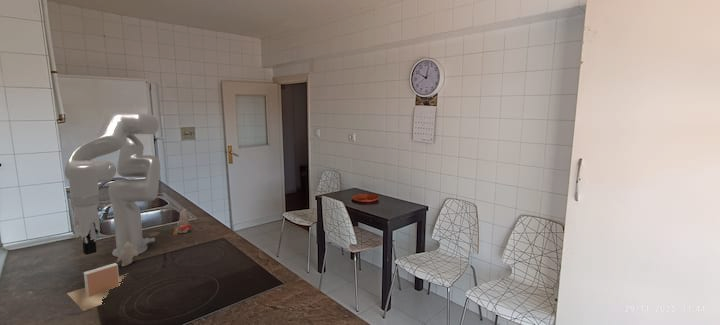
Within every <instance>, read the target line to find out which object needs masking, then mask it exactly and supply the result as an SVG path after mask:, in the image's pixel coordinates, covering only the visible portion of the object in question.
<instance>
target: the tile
mask: <svg viewBox="0 0 720 325" xmlns="http://www.w3.org/2000/svg"><path fill="white" fill-rule="evenodd" d="M119 276H120V274H119V265H118V264H117V262H114V263H110V264H107V265H103V266H100V267H97V268H94V269H90V270H87V271H83V278H84V279H83V280H84V288H85V289H86V295H87V296H88V297H90V296H93V295H96V294H99V293H101V292H104V291H107V290H110V289H113V288H115V287H118V286H120V284H119Z"/></svg>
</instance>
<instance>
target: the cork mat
mask: <svg viewBox="0 0 720 325" xmlns="http://www.w3.org/2000/svg"><path fill="white" fill-rule="evenodd" d="M127 274H128V273H125V274H121V275H119V282H121V281H122V279H124V277H126V276H124V275H127ZM122 283H123V282H122ZM119 284H121V283H119ZM108 292H109V290H107V291H104V292H101V293H99V294H96V295H93V296H90V297H88V296H87V295H86V289H85V287H83V288H79V289H76V290H73V291H70V292H67V293H66V295H68V296H69V297H70V298H71V299H72V301H73V302H75V304H76V305H77V307H79V308H80V309H81V310H82V311H83V312H84V311H87V310H90V309H93V308H96V307H99V306H101V305H103V304H102V302H103V301H102V299H104V298H106V297H107V295H108V294H109V293H108ZM103 297H104V298H103Z"/></svg>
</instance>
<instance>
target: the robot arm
mask: <svg viewBox="0 0 720 325" xmlns="http://www.w3.org/2000/svg"><path fill="white" fill-rule="evenodd" d="M159 127H160V123H159V120H158V118H157V117H156V116H155V115H153V114H150V113H149V114H148V113H142V112H112V113H110V114H108V116H107V117H106V118H105V120H104V122H103V124H102V126H101V128H100V130H99V132H98V134H97V136H96V137H95V138H92V139H91V140H88V141H87V142H85V143H84V144H82V145H80V146H79V147H76V148H75V150H74V151H73V152H71V154H70V156H69V158H68V160H67V162H66V164H65V167H64V176H65V178H66V179H67V180H68V186H69V194H70V195H69V196H70V198H69V199H70V206H71V208H73V210H72V211H73V212H72V216H73V218H72V219H73V231H74V233H75V234H77V235H79V237H81V240H82V241H81V242H82V249H83V250H82V251H83V252H82V253H83V254H84V255H86V256H87V255H91V254H95V253H97V242H96V241H97V235H99V234H100V232H101V226H100V217H99V210H98V206H99V205H100V203H101V202H100V201H101V200H100V188H99V183H105V182H109V181H111V180H112V179H113V178H114V177H115V175H116V172H117V174H118V176H120V177H121V178H122V177H123V179H117V180H114V181H112V182H110V184H109V185H108V188H107V189H108V190H107V192H108V196H109V199H110V202H111V207H112V214H113V223H114V225H113V226H114V235H115V246H116V248H114V249H113V250H112V256H114V257H115V258H118V256H119V254H120V251H121V249H122V248H123V247H124V245H125V244H126V243H127V242H130V243H131V244H132V245H133V246H134V248H135V249H136V250H137V253H138V255H141V254H143V253H145V252H146V251H147V250H148V244H152V243H154V242H155V241H156V238H155V237H151V238H150V237H146V238H143V228H142V226H143V224H142V216H141V212H142V211H141V209H140V207H139V205H138V204H137V203H142V202H152V201H154V200H155V199H156V198H157V195H158V193H159V191H158V190H159V185H160V184H159V183H160V178H161V162H160V160H159V158H158V157H157V156H155V155H146V154H145V155H144V144H143V143H142V142H141V140H140V139H139V138H138V137H137V136H136V135H154V134H156V133H158V130H159ZM117 151H119V155H118V160H117V166H115V164H114V163H113V162H111V161H108V160H94V159H96V158H98V157H103V156H106V155H110V154H112V153H116V152H117ZM135 178H136V179H135Z"/></svg>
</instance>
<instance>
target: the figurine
mask: <svg viewBox="0 0 720 325" xmlns="http://www.w3.org/2000/svg"><path fill="white" fill-rule="evenodd" d="M191 228H192V225H191V224H190V220H189V216H188V212H187V210H186V209H182V210H181V211H180V212H179V220H178V221H177V223H176V226H175V227H174V230H173V236H178V234H186V233H188V231H189V229H191Z"/></svg>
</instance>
